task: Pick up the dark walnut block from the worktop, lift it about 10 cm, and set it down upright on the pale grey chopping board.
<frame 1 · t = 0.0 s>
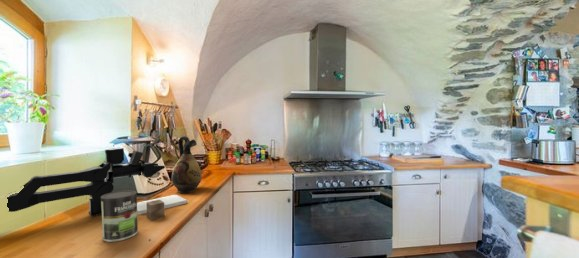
hand: (161, 165, 128), 17 cm above the worktop, tool horizontal, fingers open, 9 cm apart
ceramic jug: (186, 190, 143), on the worktop
coffee can: (120, 235, 89), on the worktop
chopping board: (159, 205, 119), on the worktop
walnut block: (155, 217, 105), on the worktop
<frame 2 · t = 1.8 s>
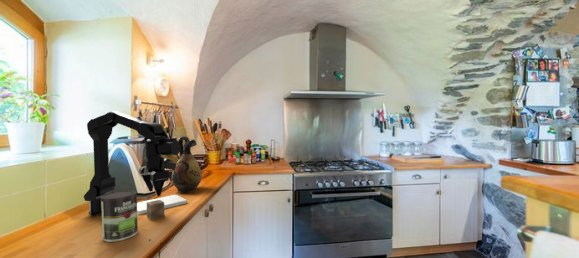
hand: (154, 193, 105), 9 cm above the worktop, tool pointing down, fingers open, 9 cm apart
nothing on the worktop moved.
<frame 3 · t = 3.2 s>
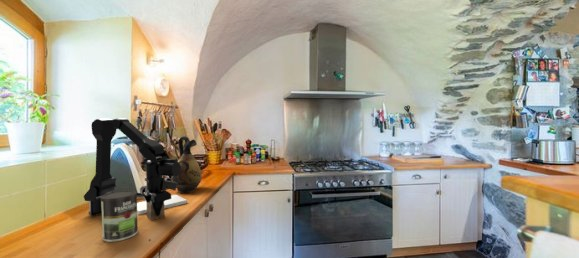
hand: (155, 213, 105), 1 cm above the worktop, tool pointing down, fingers closed on walnut block, 5 cm apart
walnut block: (155, 216, 105), on the worktop, touching gripper
everything else where it was.
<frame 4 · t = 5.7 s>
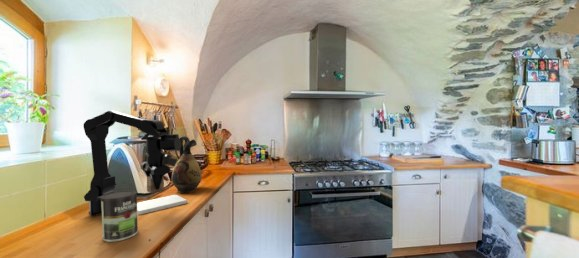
hand: (155, 188, 108), 11 cm above the worktop, tool pointing down, fingers closed on walnut block, 5 cm apart
walnut block: (155, 191, 108), point 10 cm above the worktop, touching gripper
everything else where it was.
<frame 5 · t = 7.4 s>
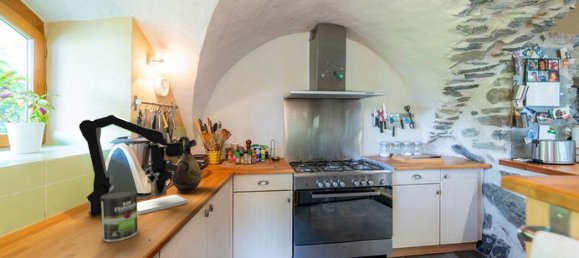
hand: (158, 192, 119), 6 cm above the worktop, tool pointing down, fingers closed on walnut block, 5 cm apart
walnut block: (158, 194, 119), point 5 cm above the worktop, touching gripper
everything else where it was.
when the fingers open (4 cm above the worktop, at t = 8.6 s): walnut block drops 1 cm, resting on chopping board.
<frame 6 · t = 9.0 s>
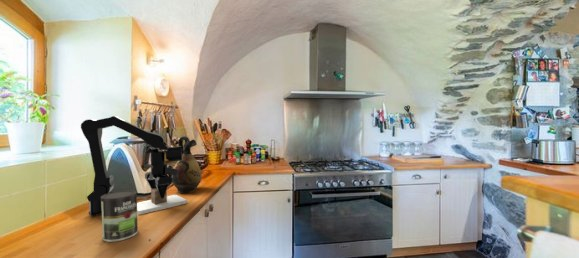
hand: (158, 196, 119), 4 cm above the worktop, tool pointing down, fingers open, 9 cm apart
walnut block: (159, 202, 119), point 1 cm above the worktop, touching chopping board
everything else where it was.
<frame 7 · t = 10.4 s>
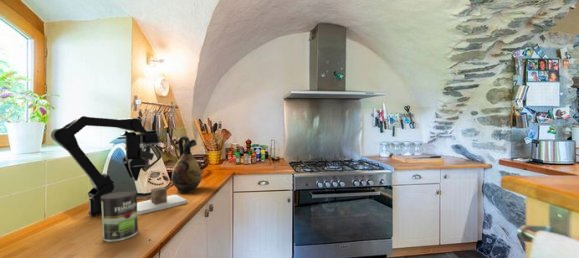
hand: (133, 179, 121), 12 cm above the worktop, tool pointing down, fingers open, 9 cm apart
nothing on the worktop moved.
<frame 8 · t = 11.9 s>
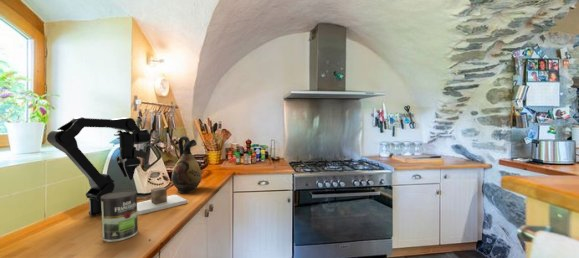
hand: (128, 178, 121), 12 cm above the worktop, tool pointing down, fingers open, 9 cm apart
nothing on the worktop moved.
at the end: walnut block inside the target area on the chopping board (0.0 cm from its centre), point 1.5 cm above the chopping board's base; walnut block tilted 0°; the gripper is holding nothing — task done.
